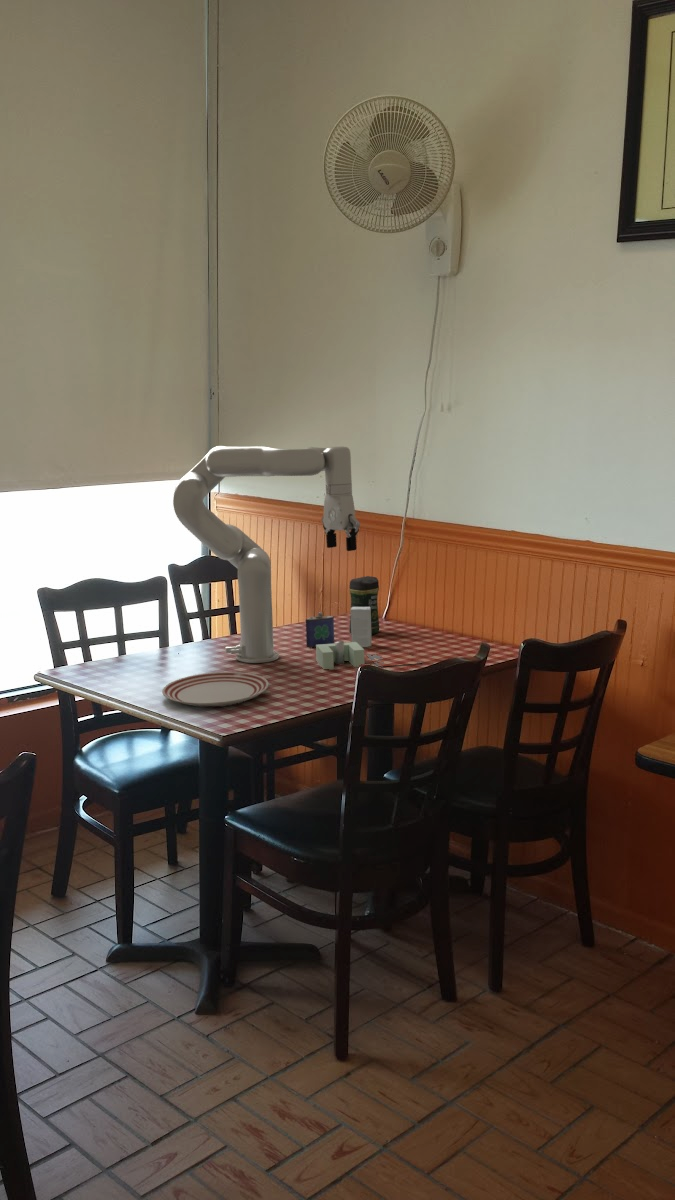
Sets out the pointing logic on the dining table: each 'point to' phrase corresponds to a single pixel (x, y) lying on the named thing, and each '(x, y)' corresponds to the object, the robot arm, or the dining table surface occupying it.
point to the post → (339, 652)
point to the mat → (379, 658)
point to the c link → (328, 654)
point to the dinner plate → (215, 688)
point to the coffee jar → (366, 598)
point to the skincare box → (361, 626)
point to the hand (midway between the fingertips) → (341, 548)
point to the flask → (319, 630)
